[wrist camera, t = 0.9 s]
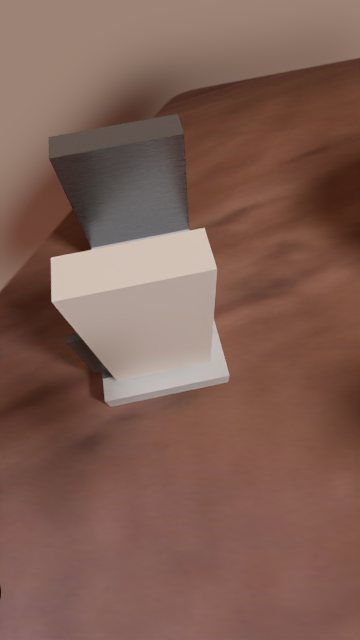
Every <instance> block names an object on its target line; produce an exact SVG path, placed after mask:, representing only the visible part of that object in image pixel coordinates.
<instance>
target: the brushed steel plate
mask: <svg viewBox="0 0 360 640" xmlns="http://www.w3.org/2000/svg"><path fill="white" fill-rule="evenodd" d="M49 159H50V162H51V164H52V166H53V168H54V170H55V172H56V174H57V176H58V179H59V181H60V183H61V185H62V187H63V189H64V191H65V193H66V196H67V198H68V200H69V202H70V204H71V206H72V208H73V210H74V213H75V215H76V217H77V219H78V221H79V223H80V225H81V227H82V230H83V232H84V234H85V236H86V238H87V240H88V242H89V244H90V247H91V248H94V247H99V246H104V245H109V244H114V243H120V242H125V241H130V240H135V239H140V238H145V237H151V236H156V235H161V234H166V233H171V232H176V231H181V230H187V229H189V220H188V201H187V181H186V161H185V142H184V132H183V129H182V126H181V123H180V120H179V117H178V114H175V115H169V116H164V117H158V118H153V119H147V120H142V121H136V122H131V123H125V124H120V125H114V126H108V127H103V128H97V129H92V130H86V131H81V132H76V133H70V134H64V135H59V136H53V137H49Z"/></svg>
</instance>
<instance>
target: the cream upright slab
mask: <svg viewBox="0 0 360 640" xmlns="http://www.w3.org/2000/svg"><path fill="white" fill-rule="evenodd" d="M216 278H217V267H216V264H215V261H214V257H213V254H212V251H211V248H210V244H209V241H208V238H207V235H206V231H205V228H201V229H196V230H191V231H186V232H181V233H176V234H171V235H165V236H160V237H155V238H150V239H145V240H140V241H134V242H129V243H124V244H119V245H114V246H109V247H104V248H98V249H93V250H88V251H83V252H78V253H73V254H67V255H62V256H57V257H52V258H51V302H52V303H53V304H54V306H55V307H56V308H57V309H58V310H59V312H60V313H61V314H62V315H63V316H64V318H65V319H66V320H67V321H68V323H69V324H70V325H71V326H72V327H73V329H74V330H75V331H76V332H77V333H76V334H71V335H66V343H67V344H68V345H69V346H70V347H71V348H72V349H73V350H74V351H75V352H76V353H77V354H78V355H79V356H80V358H81V359H82V360H83V361H84V362H85V363H86V364H87V365H88V366H89V367H90V368H91V369H92V370H93V371H94V372H95V373H99V372H104V371H109V372H110V373H111V374H112V375H113V377H114V378H115V379H116V380H117V381H122V380H127V379H131V378H136V377H141V376H146V375H151V374H155V373H160V372H165V371H170V370H175V369H179V368H184V367H189V366H194V365H199V364H203V363H208V362H211V348H212V334H213V320H214V306H215V292H216Z"/></svg>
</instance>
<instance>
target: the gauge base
mask: <svg viewBox="0 0 360 640" xmlns="http://www.w3.org/2000/svg"><path fill="white" fill-rule="evenodd" d="M186 231H189V229H187V230H181V231H176V232H171V233H166V234H161V235H156V236H151V237H145V238H140V239H135V240H130V241H125V242H120V243H114V244H109V245H104V246H99V247H94V248H91V250H93V249H98V248H104V247H109V246H114V245H119V244H124V243H129V242H134V241H140V240H145V239H150V238H155V237H160V236H165V235H171V234H176V233H181V232H186ZM102 379H103V387H104V398H105V402H106V403H107V404H108V405H109V406H110V407H113V406H117V405H122V404H127V403H131V402H136V401H141V400H146V399H150V398H155V397H160V396H165V395H169V394H174V393H179V392H184V391H188V390H193V389H198V388H202V387H207V386H212V385H217V384H221V383H226V382H228V379H229V372H228V368H227V365H226V361H225V358H224V354H223V350H222V347H221V343H220V340H219V336H218V332H217V329H216V325H215V321H214V320H213V334H212V348H211V362H208V363H203V364H199V365H194V366H189V367H184V368H179V369H175V370H170V371H165V372H160V373H155V374H151V375H146V376H141V377H136V378H131V379H127V380H122V381H117V380H116V379H115V378H114V377H113V375H112V374H111V373H110V372H109V371H104V372H102Z"/></svg>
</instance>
